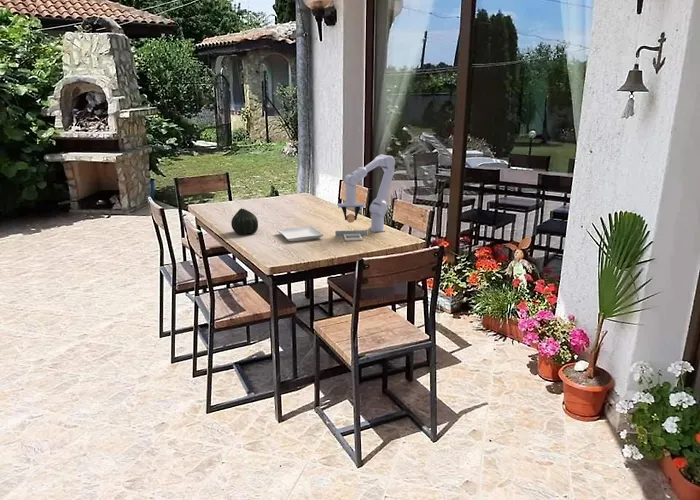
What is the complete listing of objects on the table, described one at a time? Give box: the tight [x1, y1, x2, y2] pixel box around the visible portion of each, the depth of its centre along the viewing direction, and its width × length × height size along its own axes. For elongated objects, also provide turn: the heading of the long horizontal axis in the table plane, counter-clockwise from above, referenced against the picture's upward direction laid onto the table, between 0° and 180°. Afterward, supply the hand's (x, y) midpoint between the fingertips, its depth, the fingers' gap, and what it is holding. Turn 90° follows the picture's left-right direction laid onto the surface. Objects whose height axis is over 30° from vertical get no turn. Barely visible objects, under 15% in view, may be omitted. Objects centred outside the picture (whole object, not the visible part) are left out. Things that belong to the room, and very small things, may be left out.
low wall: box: [335, 229, 368, 237], centre depth 304 cm, size 1×18×3 cm, turn 97°
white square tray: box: [342, 234, 364, 242], centre depth 299 cm, size 10×10×2 cm
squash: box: [230, 208, 259, 236], centre depth 307 cm, size 14×15×15 cm
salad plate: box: [276, 225, 324, 242], centre depth 302 cm, size 21×21×3 cm
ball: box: [346, 213, 356, 224], centre depth 305 cm, size 5×5×5 cm
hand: (350, 219), depth 305 cm, fingers closed on ball, 5 cm apart
